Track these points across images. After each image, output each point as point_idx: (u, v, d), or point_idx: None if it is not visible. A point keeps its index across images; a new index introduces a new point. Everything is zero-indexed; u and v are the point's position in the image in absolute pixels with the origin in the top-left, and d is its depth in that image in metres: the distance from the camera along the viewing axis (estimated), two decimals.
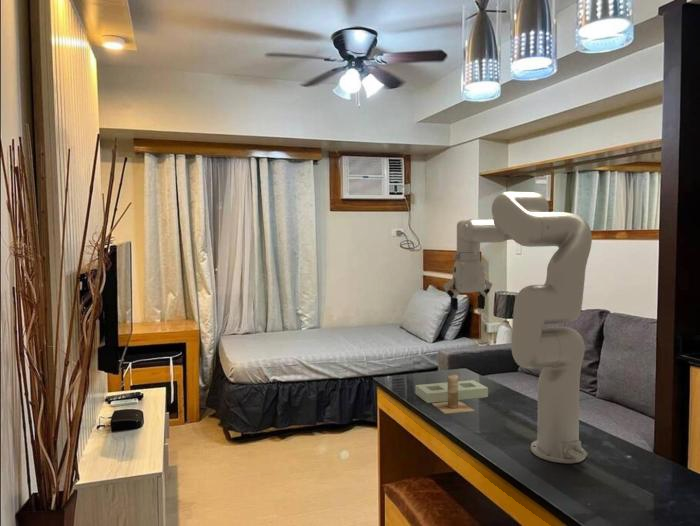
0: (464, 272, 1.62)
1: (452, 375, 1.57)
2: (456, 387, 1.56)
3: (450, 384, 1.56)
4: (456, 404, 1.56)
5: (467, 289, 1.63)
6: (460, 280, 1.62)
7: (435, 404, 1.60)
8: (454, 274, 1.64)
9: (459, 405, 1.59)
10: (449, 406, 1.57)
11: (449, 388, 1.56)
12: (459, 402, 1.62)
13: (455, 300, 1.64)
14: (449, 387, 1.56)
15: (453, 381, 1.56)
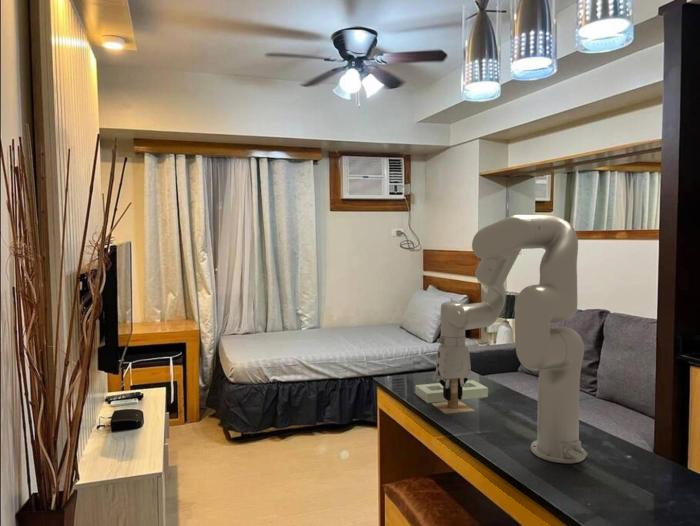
0: (448, 358, 1.54)
1: None
2: (456, 387, 1.56)
3: (450, 384, 1.56)
4: (456, 404, 1.56)
5: (452, 376, 1.54)
6: (444, 367, 1.53)
7: (435, 404, 1.60)
8: (438, 359, 1.56)
9: (459, 405, 1.59)
10: (449, 406, 1.57)
11: None
12: (459, 402, 1.62)
13: (448, 390, 1.56)
14: (449, 387, 1.56)
15: (453, 381, 1.56)
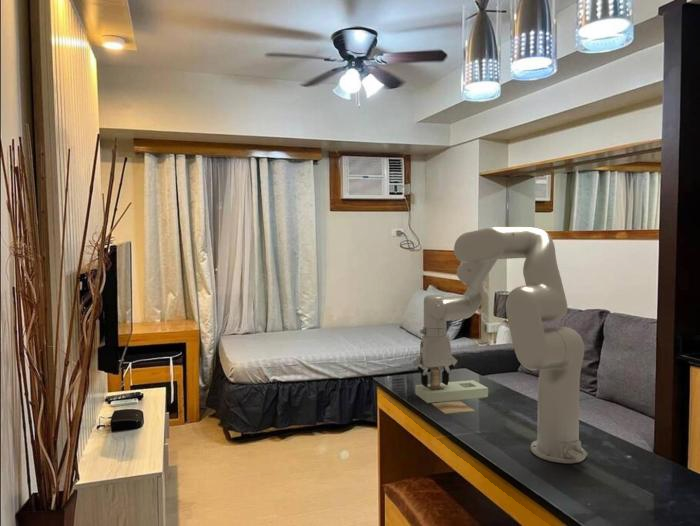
0: (430, 347, 1.64)
1: (434, 368, 1.68)
2: (438, 380, 1.66)
3: (432, 377, 1.66)
4: None
5: (433, 364, 1.64)
6: (426, 356, 1.64)
7: (435, 404, 1.60)
8: (421, 349, 1.66)
9: (459, 405, 1.59)
10: None
11: (431, 380, 1.67)
12: (459, 402, 1.62)
13: (425, 377, 1.65)
14: (431, 380, 1.67)
15: (435, 374, 1.66)
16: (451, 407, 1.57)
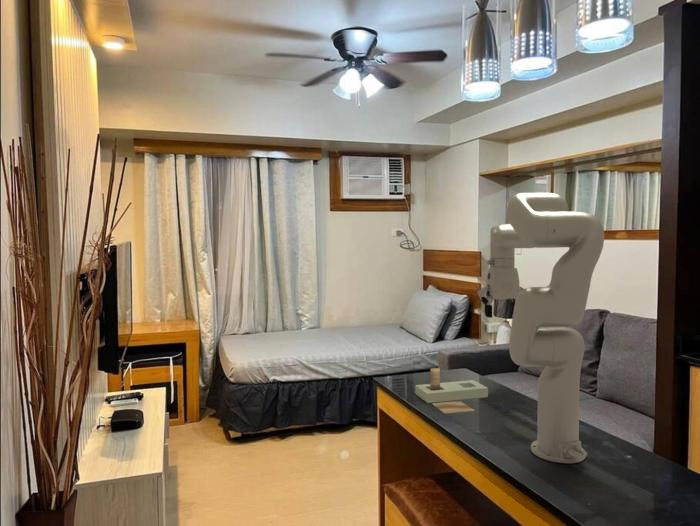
0: (499, 278, 1.58)
1: (434, 368, 1.68)
2: (438, 380, 1.66)
3: (432, 377, 1.66)
4: None
5: (502, 296, 1.59)
6: (495, 287, 1.58)
7: (435, 404, 1.60)
8: (488, 280, 1.60)
9: (459, 405, 1.59)
10: None
11: (431, 380, 1.67)
12: (459, 402, 1.62)
13: (489, 307, 1.59)
14: (431, 380, 1.67)
15: (435, 374, 1.66)
16: (451, 407, 1.57)
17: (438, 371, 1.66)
